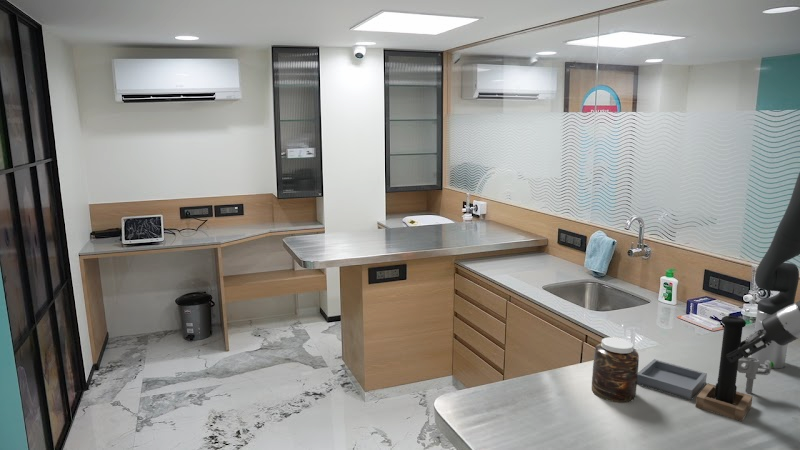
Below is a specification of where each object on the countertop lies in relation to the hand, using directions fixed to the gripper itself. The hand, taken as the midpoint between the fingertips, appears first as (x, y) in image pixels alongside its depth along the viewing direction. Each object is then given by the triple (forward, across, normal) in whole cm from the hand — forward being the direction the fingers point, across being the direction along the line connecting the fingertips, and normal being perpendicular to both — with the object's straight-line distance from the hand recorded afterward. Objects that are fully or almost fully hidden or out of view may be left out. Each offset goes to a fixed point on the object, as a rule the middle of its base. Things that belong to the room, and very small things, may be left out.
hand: (732, 354), depth 149 cm
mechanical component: (+9, -14, +13) cm, 21 cm away
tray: (+22, -5, 0) cm, 22 cm away
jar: (+29, +13, -7) cm, 32 cm away
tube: (+11, 0, +10) cm, 15 cm away
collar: (+11, 0, +10) cm, 15 cm away
